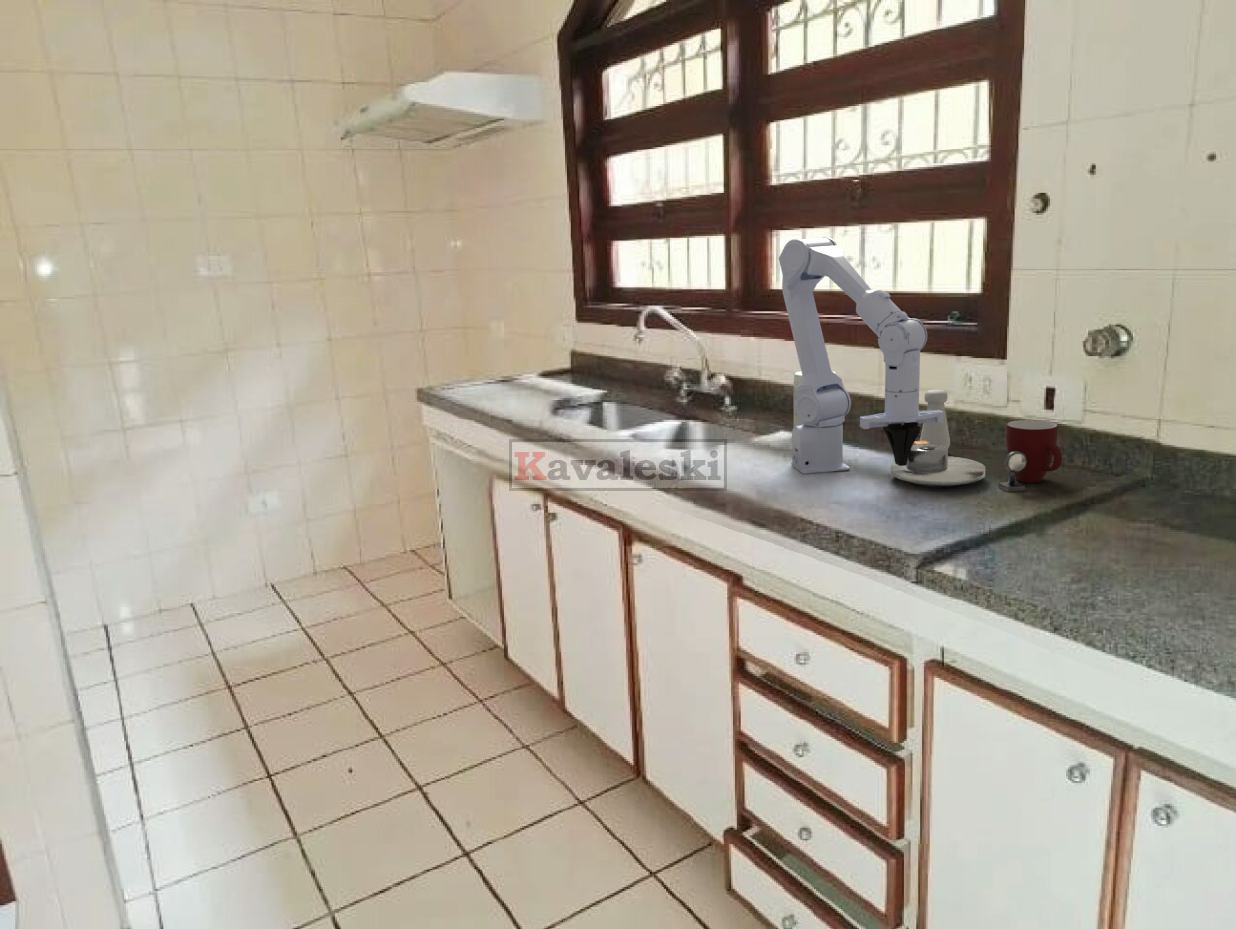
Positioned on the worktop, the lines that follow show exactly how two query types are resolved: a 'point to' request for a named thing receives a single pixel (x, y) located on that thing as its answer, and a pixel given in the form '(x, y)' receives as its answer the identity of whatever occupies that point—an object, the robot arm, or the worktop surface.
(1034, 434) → the mug
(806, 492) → the worktop surface
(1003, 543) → the worktop surface
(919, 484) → the turntable base
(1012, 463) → the dial gauge
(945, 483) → the turntable
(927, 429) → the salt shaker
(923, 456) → the cover
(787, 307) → the robot arm
